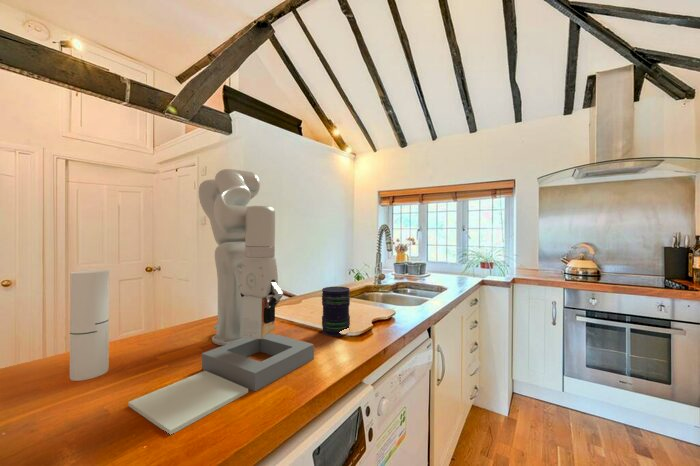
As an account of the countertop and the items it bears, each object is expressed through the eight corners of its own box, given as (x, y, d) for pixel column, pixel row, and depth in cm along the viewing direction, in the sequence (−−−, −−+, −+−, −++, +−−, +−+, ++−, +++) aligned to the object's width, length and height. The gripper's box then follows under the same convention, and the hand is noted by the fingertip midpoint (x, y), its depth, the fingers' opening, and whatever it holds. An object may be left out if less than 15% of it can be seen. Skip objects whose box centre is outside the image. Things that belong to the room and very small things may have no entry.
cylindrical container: (115, 369, 74) (115, 270, 74) (81, 382, 68) (82, 273, 68) (96, 365, 77) (97, 269, 77) (62, 377, 70) (63, 272, 70)
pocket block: (201, 369, 74) (201, 353, 74) (263, 344, 91) (263, 331, 91) (255, 391, 64) (255, 373, 64) (313, 358, 81) (313, 344, 81)
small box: (261, 340, 74) (261, 298, 74) (240, 337, 75) (241, 296, 75) (275, 329, 82) (276, 291, 81) (256, 327, 83) (257, 290, 83)
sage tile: (128, 405, 58) (128, 401, 58) (204, 373, 72) (205, 370, 72) (170, 435, 50) (170, 430, 50) (248, 392, 63) (248, 388, 63)
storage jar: (326, 337, 97) (326, 292, 97) (318, 328, 106) (318, 287, 106) (354, 334, 101) (354, 290, 101) (344, 325, 110) (344, 285, 110)
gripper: (227, 251, 79) (226, 317, 80) (272, 256, 70) (271, 330, 70) (249, 250, 86) (249, 310, 86) (294, 254, 76) (293, 321, 77)
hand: (259, 318), depth 78 cm, fingers closed on small box, 7 cm apart
